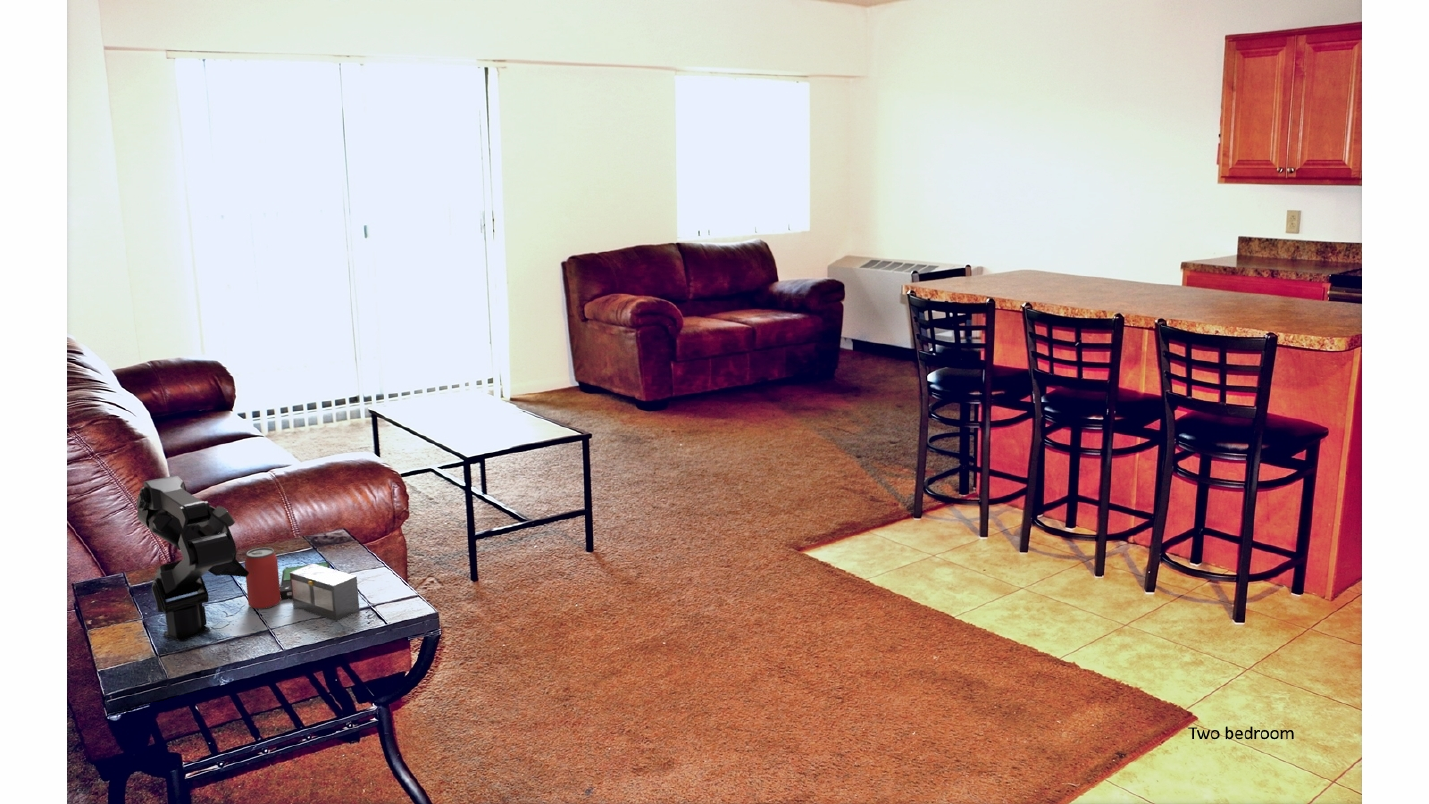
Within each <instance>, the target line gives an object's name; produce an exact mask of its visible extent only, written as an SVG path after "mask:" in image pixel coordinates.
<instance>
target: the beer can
mask: <svg viewBox="0 0 1429 804" xmlns="http://www.w3.org/2000/svg"><path fill="white" fill-rule="evenodd" d="M245 555H246V557H245V559H244V568H245V569H246V570H247V571H248V572H249V574H248V576H247V577H245V582H246V593H247V594H246V595H247V602H248V606H249V608H252V609H255V610H264V609H270V608H273V607H275V606H277V605H278V604H279V603H280V602H281V601H282V600H281V596H280V587H281V584H280V576H279V575H280V574H279V563H278V557H277V554H276V553H275V550H274V549H273V548H272V547H271V548H270V547H257V548H253V549H251V550H248V551H247V552H246V553H245Z"/></svg>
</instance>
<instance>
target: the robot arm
mask: <svg viewBox="0 0 1429 804" xmlns="http://www.w3.org/2000/svg"><path fill="white" fill-rule="evenodd" d="M135 505H136V508H137V511H136V517H137V519H138V521H139V522H140V523H141V524H142V525H143V526H145V527H146V528H147V529H149V531H150V532H151V533H152V534H153V535H156V536H158V537H159V538H161V539H162V540H164V541H166V542H167V543H169V544H171V545H172V546H174V547H175V548H176V549H178V551H179V550H180V552H181V556H182V559H181V560H177V561H173V562H170V563H165V564H161V566H159V568H158V569H157V568H156V573H155V575H154V579H152V586H151V591H152V594H153V598H154V600H155V604H156V610H157V613H163V614H164V615H165V621H166V622H165V624H166V630H165V631H163V636H165V637H168V638H171V639H173V640H175V641H178V642H186V641H187V640H190V639H192V638H194V637H196V636H199V635H202V634H204V633H207V632H209V631H210V630H211V628H210V626H207V624H208V623H207V613H206V607H205V606H204V605H203V604H206V603H209V600H210V599H209V593H208V589H207V587H206V585H205V581H204V579H203V576H204V575H205V574H206V573H207V572H209V573H210V574H212V575H214V576H215V577H217V576H230V577H242V578H246V577H247V576H248V574H249V572H248V571H247V570H246V569H245V566H244V565H242V564H241V563H240V562H239V561H238V559H237V558H236V557H237V553H238V551H237V546H236V542H235V539H234V538H233V537H234V536H233V535H232V533H231V530H230V528H229V527H231V526H233V525H234V524H235V523H236V521H235V520H234V518H233V516H232V515H231V514H230V512H229V511H228V509H226V508H225V507H224V506H219V505H217V506H216V508H215V507H214V506H212V505H210V503H209V502H208V500H206V501H204V500H201V499H199V498H197V497H196V496H194V495H192V494H191V493H189V492H188V491H187V487H186V484H185V481H184V480H183V479H181V478H180V476H178V475H176V474H175V475H170V476H166V477H159V478H156V479H155V478H154V479H150V480H146V481H144V482H143V487H141V488H140V489H139V493H138V495H137V499H136V503H135ZM192 593H193V594H192ZM194 593H195V594H194ZM189 594H191V595H189ZM184 595H188V596H184ZM181 596H184V597H181ZM177 597H181V598H177ZM173 598H177V599H173ZM170 599H173V600H170ZM167 600H168V601H167Z"/></svg>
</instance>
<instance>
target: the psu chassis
mask: <svg viewBox="0 0 1429 804" xmlns="http://www.w3.org/2000/svg"><path fill="white" fill-rule="evenodd" d="M309 564H310V565H308V566H305V567H303V568H300V569H298V570H295V571H292V572H290V580H291V590H292V599H291V600H292V606H293V608H294V609H298V610H302V611H305V612H306V613H310V614H313V615H315V616H319V617H322V618H326V619H328V620H332V621H335V622H339V621H342V620H343V619H345V618H347V617H350V616H352V615H354V614H357V613H359V612H360V611H361V610H360V600H359V599H360V598H359V589H358V578H357V575H353V574H350V573H347V572H343V571H340V570H336V569H333V568H331V567H330V568H327V567H323V566H320V565H317V564H315V563H309Z"/></svg>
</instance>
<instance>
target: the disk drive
mask: <svg viewBox="0 0 1429 804" xmlns="http://www.w3.org/2000/svg"><path fill="white" fill-rule="evenodd" d="M310 564H311V563H307V564H305V565H298V566H291V567H290V566H289V567H288V566H286V567H285V568H283V570H282V574H281V582H280V596H281V601H286V600H287V601H288V600H292V590H291V580H290V572H292V571H295V570H298V569H300V568H303V567H305V566H308V565H310ZM314 564H317V565H320V566H323V567H327V568H330V569H331V566H330V565H331V564H330V561H324V562H317V563H314Z"/></svg>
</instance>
